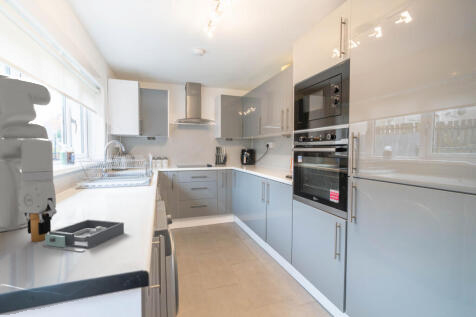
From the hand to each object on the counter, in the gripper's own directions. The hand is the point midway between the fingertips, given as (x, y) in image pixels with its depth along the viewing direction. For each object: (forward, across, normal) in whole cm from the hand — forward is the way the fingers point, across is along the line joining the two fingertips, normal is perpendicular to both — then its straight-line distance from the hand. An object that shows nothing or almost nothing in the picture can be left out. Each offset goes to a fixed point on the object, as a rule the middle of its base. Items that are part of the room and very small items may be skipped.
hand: (39, 232), depth 70 cm
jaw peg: (+2, 0, 0) cm, 2 cm away
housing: (+2, +15, +4) cm, 15 cm away
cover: (+2, +12, -4) cm, 12 cm away
